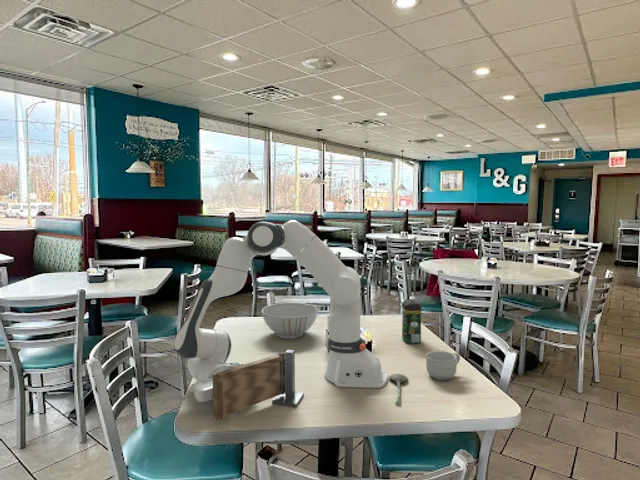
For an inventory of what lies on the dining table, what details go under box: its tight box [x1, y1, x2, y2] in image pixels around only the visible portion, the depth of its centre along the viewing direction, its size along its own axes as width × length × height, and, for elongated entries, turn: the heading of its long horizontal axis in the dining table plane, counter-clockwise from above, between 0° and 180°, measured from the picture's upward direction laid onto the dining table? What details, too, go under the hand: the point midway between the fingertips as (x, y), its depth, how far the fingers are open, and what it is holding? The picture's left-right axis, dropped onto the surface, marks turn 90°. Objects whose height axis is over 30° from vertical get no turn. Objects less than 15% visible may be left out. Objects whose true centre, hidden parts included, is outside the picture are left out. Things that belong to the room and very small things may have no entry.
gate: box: [212, 351, 285, 422], centre depth 124 cm, size 24×2×13 cm, turn 131°
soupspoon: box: [388, 373, 408, 406], centre depth 139 cm, size 22×3×7 cm
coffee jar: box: [401, 298, 422, 345], centre depth 187 cm, size 10×8×19 cm
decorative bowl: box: [260, 302, 319, 339], centre depth 196 cm, size 27×27×12 cm
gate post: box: [271, 349, 305, 408], centre depth 131 cm, size 8×8×16 cm
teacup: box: [425, 350, 461, 381], centre depth 149 cm, size 14×11×8 cm
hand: (239, 393), depth 123 cm, fingers closed, pressing on gate
